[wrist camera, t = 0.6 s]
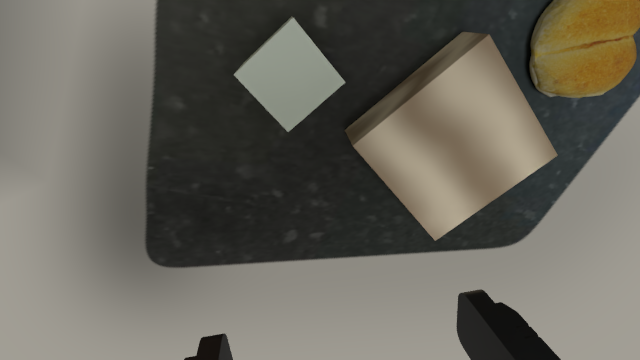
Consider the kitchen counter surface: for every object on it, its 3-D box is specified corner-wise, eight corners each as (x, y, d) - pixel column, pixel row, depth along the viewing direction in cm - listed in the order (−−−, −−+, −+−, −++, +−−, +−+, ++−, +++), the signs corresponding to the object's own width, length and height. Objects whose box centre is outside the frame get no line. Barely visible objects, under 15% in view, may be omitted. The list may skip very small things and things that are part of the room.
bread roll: (635, -30, 27) (689, -36, 24) (607, 87, 31) (649, 97, 28) (531, -17, 27) (570, -22, 23) (516, 100, 31) (547, 111, 27)
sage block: (291, 16, 26) (293, 17, 21) (333, 69, 28) (345, 82, 23) (243, 62, 27) (233, 74, 22) (287, 110, 29) (288, 132, 24)
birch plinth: (462, 31, 28) (489, 34, 24) (527, 139, 32) (557, 155, 29) (344, 130, 30) (352, 145, 27) (419, 217, 35) (435, 240, 31)
